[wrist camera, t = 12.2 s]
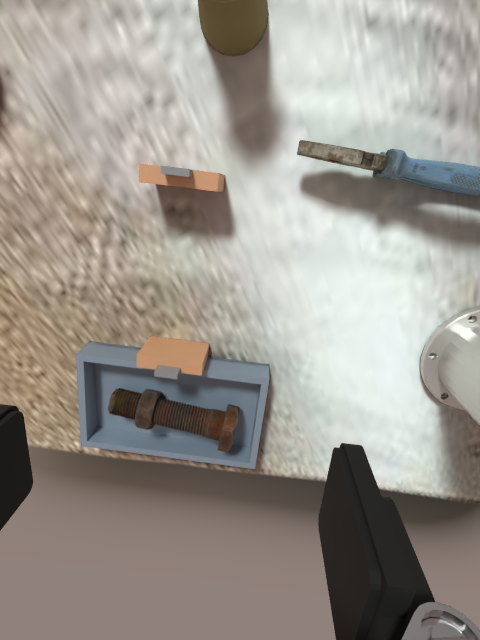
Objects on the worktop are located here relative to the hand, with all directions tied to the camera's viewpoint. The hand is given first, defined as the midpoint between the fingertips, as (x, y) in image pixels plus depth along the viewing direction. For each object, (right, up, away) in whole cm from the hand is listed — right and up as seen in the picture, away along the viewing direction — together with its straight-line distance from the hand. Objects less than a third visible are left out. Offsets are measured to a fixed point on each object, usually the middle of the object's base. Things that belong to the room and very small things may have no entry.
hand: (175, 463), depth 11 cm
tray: (-6, -5, +34) cm, 35 cm away
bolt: (-6, -6, +34) cm, 35 cm away
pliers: (+17, +19, +24) cm, 35 cm away
